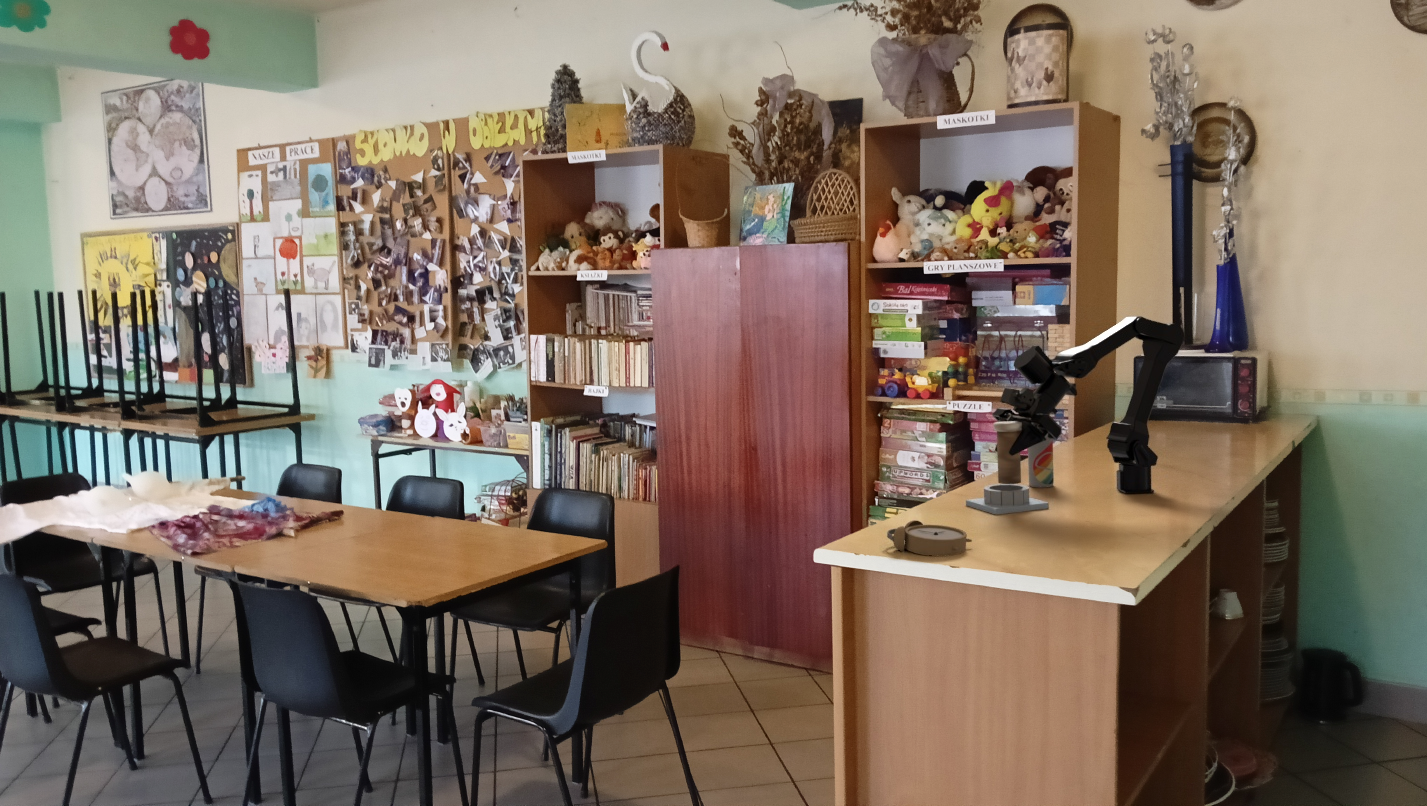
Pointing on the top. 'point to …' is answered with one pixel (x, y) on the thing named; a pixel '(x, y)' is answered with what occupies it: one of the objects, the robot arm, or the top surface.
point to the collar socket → (1006, 499)
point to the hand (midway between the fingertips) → (1003, 452)
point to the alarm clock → (929, 539)
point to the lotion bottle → (1041, 464)
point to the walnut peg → (1006, 463)
